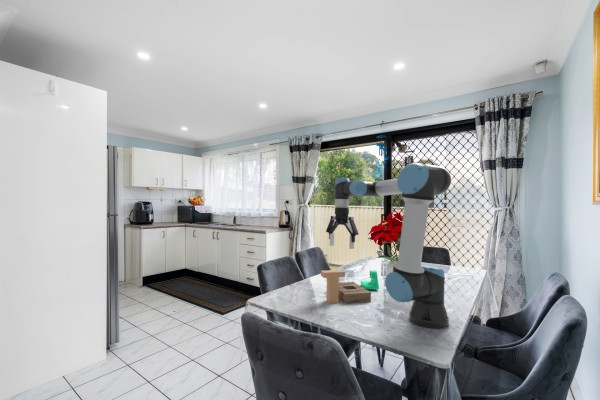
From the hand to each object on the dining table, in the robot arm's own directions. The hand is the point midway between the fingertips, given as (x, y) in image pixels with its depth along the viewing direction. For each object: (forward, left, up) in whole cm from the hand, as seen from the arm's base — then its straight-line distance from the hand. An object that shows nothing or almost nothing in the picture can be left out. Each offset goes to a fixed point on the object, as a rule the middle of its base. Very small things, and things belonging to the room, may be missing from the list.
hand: (341, 247), depth 152 cm
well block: (-2, -4, -26) cm, 26 cm away
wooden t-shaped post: (-8, +8, -26) cm, 28 cm away
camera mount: (+10, -22, -26) cm, 36 cm away
